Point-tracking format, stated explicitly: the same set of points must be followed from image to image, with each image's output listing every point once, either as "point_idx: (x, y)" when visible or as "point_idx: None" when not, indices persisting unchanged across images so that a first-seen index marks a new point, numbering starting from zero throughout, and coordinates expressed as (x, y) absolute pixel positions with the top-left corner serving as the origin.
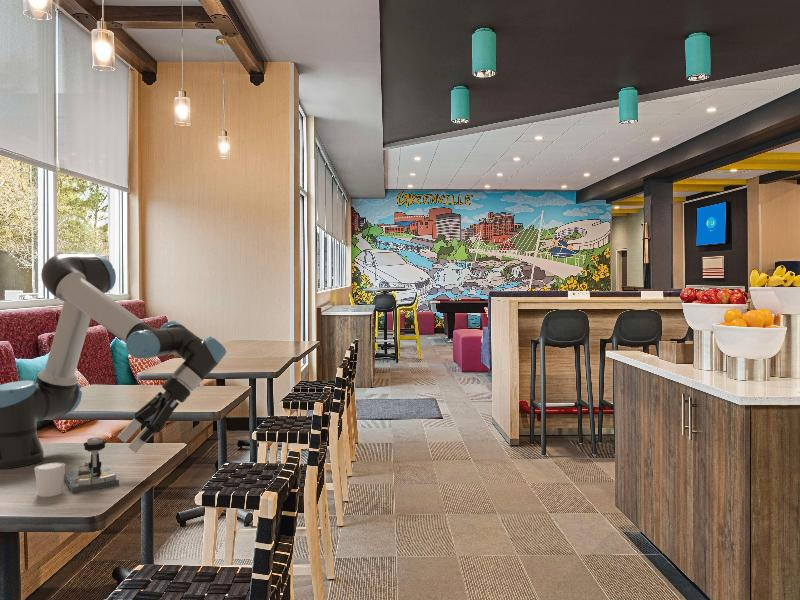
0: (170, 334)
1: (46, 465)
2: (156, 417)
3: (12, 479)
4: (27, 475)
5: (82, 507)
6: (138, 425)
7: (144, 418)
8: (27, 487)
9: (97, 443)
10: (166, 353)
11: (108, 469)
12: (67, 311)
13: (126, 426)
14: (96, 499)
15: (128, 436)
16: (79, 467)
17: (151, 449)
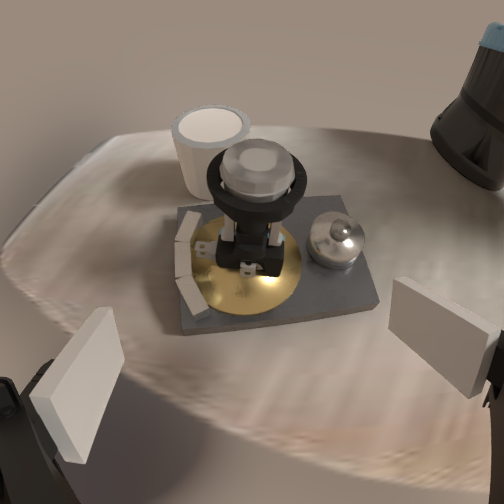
0: None
1: (225, 119)
2: None
3: (361, 136)
4: (384, 155)
5: (56, 236)
6: (461, 377)
7: (497, 410)
8: (289, 149)
9: (225, 179)
10: None
11: (339, 304)
12: None
13: (451, 301)
14: (87, 265)
15: (408, 335)
16: (323, 213)
17: None
